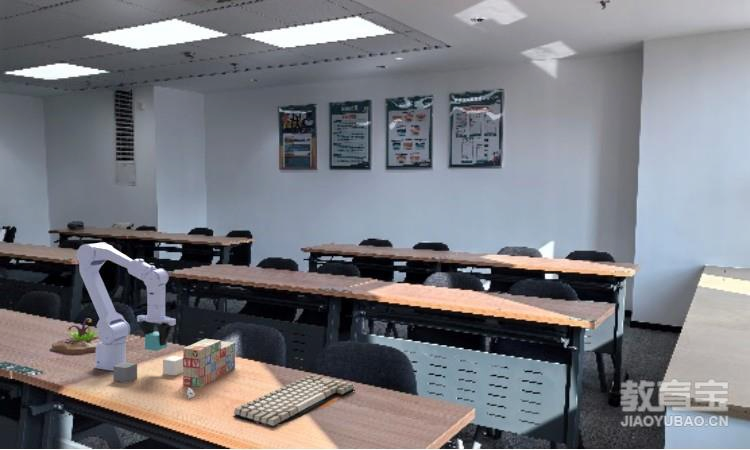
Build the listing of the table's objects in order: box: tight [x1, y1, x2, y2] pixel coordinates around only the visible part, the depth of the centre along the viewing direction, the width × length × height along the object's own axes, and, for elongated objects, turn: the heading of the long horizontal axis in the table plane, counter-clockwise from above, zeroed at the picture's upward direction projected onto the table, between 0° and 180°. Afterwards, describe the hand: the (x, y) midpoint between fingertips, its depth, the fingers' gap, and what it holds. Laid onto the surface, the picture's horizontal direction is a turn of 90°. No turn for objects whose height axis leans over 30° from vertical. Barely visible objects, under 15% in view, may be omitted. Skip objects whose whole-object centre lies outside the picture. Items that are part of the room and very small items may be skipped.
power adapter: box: [186, 387, 196, 399], centre depth 171 cm, size 3×3×3 cm
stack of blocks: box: [182, 338, 236, 388], centre depth 190 cm, size 21×6×12 cm, turn 163°
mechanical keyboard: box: [232, 373, 356, 430], centre depth 169 cm, size 38×19×3 cm, turn 150°
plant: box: [51, 318, 101, 355], centre depth 222 cm, size 20×20×11 cm
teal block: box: [144, 331, 168, 352], centre depth 194 cm, size 5×5×5 cm
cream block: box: [162, 355, 183, 376], centre depth 193 cm, size 5×5×5 cm
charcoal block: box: [113, 361, 138, 384], centre depth 185 cm, size 5×5×5 cm
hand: (156, 344), depth 194 cm, fingers closed on teal block, 5 cm apart
